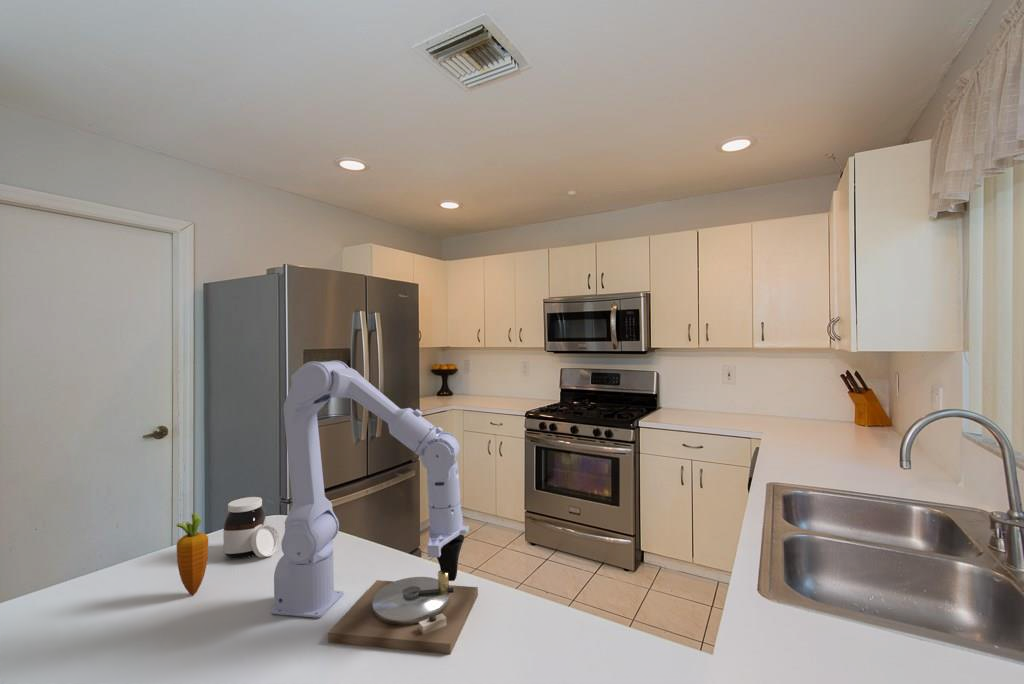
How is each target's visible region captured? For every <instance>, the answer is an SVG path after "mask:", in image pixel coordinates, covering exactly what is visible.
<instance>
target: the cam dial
mask: <svg viewBox="0 0 1024 684" xmlns="http://www.w3.org/2000/svg"><path fill="white" fill-rule="evenodd" d="M437 575H438V576H437V578H438V579H437V578H435V577H434V578H433V577H429V576H413V577H412V576H411V577H407V578H402V579H398V580H396V581H395V582H392V583H390V584H388V585H386V586H384V587H383V588H381V589H380V590H379V591H378V592H377V593H376V594H375V596H374V598H373V613H374V615H375V616H376V617H377V618H378V619H379V620H381V621H383V622H386V623H389V624H397V625H406V624H414V623H419V622H420V621H423V620H426V619H428V618H430V616H431V615H435V616H436V615H438V614H440V613H441V612H442V611H443V610H444V609H445V608H446V607H447V605H448V603H449V599H450V596H449V593H453V587H452V588H449V585H450V583H449V582H450V581H449V575H448V570H439V571H438V572H437Z"/></svg>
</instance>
